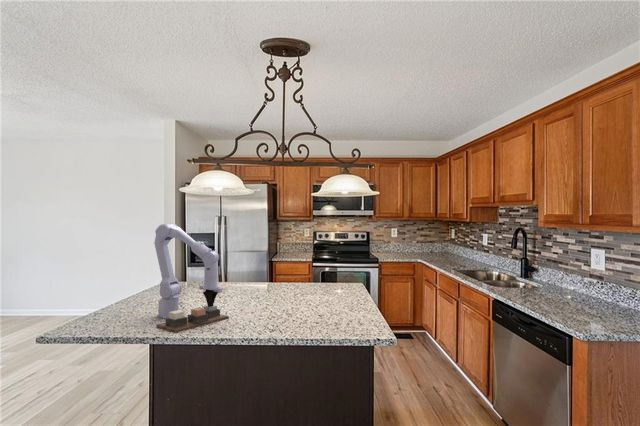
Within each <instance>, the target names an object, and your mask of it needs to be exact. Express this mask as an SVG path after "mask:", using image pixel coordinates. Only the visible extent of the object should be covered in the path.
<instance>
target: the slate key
mask: <svg viewBox="0 0 640 426" xmlns="http://www.w3.org/2000/svg"><path fill="white" fill-rule="evenodd" d="M203 308H205V309H206V311H214V310H217V309H218V305H215V304H213V306H211V307H208V305H204V306H203Z"/></svg>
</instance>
